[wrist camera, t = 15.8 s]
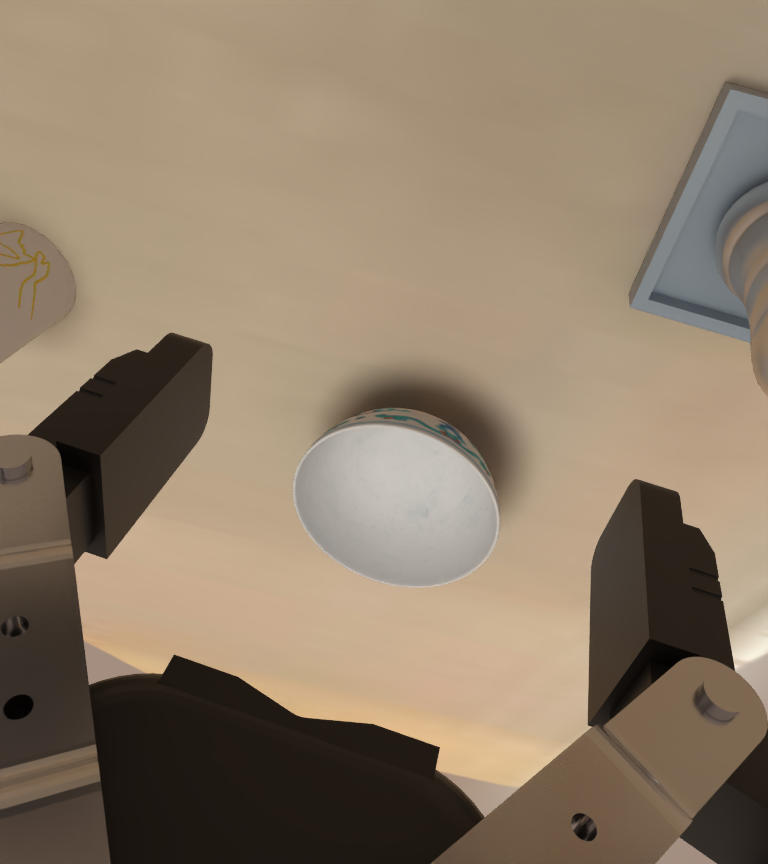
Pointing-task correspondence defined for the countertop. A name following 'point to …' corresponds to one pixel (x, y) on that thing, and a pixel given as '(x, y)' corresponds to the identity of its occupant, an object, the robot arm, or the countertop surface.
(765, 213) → the plastic bottle
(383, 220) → the countertop surface
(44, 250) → the cup
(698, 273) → the tray
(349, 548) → the chinaware
